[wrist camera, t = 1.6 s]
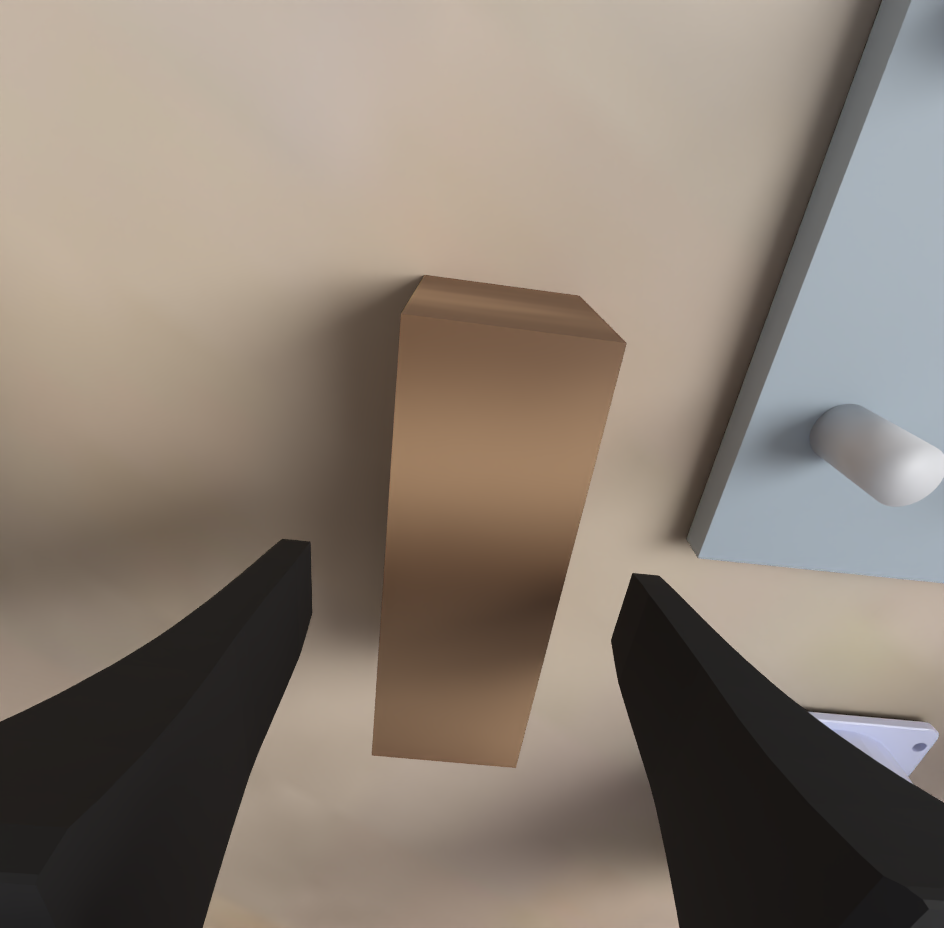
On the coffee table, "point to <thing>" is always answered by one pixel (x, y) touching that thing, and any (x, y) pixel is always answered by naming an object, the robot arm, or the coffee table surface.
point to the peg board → (852, 344)
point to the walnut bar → (483, 509)
